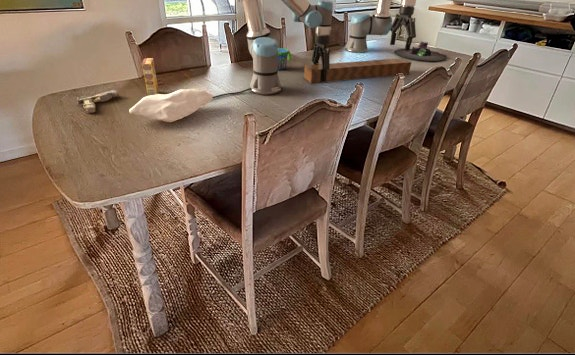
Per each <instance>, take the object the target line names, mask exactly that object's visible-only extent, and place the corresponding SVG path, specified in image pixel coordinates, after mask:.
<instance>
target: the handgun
mask: <svg viewBox="0 0 575 355" xmlns="http://www.w3.org/2000/svg"><path fill="white" fill-rule="evenodd" d="M119 96H120V94H119V92H118V91H117V90H116V89H112V90H108V91H105V92H104V91H103V92H101V93H96V94H94V95H86V94H85V95H84V94H83V95H81V96H80V97H77V98H76V101H77V104H78V105H82V108H83V109H84V110H85V113H87V114H91V113H95V112H96V104H95V103H98V102H106V101H109V100H111V99H113V98H117V97H119Z"/></svg>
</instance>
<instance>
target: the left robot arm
mask: <svg viewBox="0 0 575 355" xmlns="http://www.w3.org/2000/svg"><path fill="white" fill-rule="evenodd" d="M281 2H282V3H283V4H285V6H286V7H287V8H289V10H291V11H292V12H291V13H292V15H291V16H292V17H291V18H292V20H293V22H294V23H303V24H304V25H305V26H306V27H307V28H309V29H315V32H314V34H315V35H314V43H313V49H312V56H311V62H312V65H317V64H320V59H321V64H322V69H321V81H320V82H319V83H327V82H326V73H327V69H329V64H330V53H331V49H330V48H328V44H330V41H331V32H332V31H331V30H332V20H333V9H334V3H333V1H332V0H318V1H317V3H316V4H311V3H310V2H309V1H308V0H281ZM241 3H242V6H243V11H244V17H245V20H246V25H247V29H248V31H247V33H246V36H245V37H246V40H247V48H248V52H249V54H250V55H251V57H252V69H253V70H252V77H251V81H250V83H249V88H246V89H243V90H241V91H235V92H227V93H226V92H225V93H221V94H218V95H215V96H213V98H212V100H213V99H216V98H219V97H223V96H229V95H238V94H242V93H245V92H248V91H250V92H251V93H253V94H255V95H261V96H271V95H277V94H279V93H281V92H282V85H281V81H280V78H279V69H278V50H279V48H280V47H279V42H278V41H277V40H276V39H274V38H272V34H271V30H270V29H269V28H267V26H266V20H265V15H264V9H263V5H262V0H241Z"/></svg>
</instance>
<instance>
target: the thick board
mask: <svg viewBox="0 0 575 355" xmlns="http://www.w3.org/2000/svg"><path fill="white" fill-rule="evenodd" d="M411 66H412V61H409V60H408V59H405V58H404V57H398V58H387V59H386V58H385V59H371V60H358V61H347V62H345V61H344V62H333V63H332V62H331V63H329V69H327V73H326V82H325V83H329V82H337V81H338V82H340V81H350V80H361V79H371V78H382V77H393V76H397V75H396V74H398V73H403V74H404V75H405V76H406V75H410V70H411ZM321 69H322V63H317V65H314V64H306V65H304V73H303V78H304V80H306V81H307V82H308V83H309V84H316V83H318V84H319V83H321V82H320V81H321ZM404 75H403V76H404Z"/></svg>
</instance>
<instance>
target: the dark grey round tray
mask: <svg viewBox="0 0 575 355" xmlns="http://www.w3.org/2000/svg"><path fill="white" fill-rule="evenodd" d="M428 46H429V42H427V41H420V43H419V45H417V47H416V46H412V47H411V48H410V50H409V51H405V48H398V49H395V50H393V53H394V54H395V55H396V56H399V57H401V58H404V59H405V58H406V59H411V60H415V61H416V60H417V61H425V62H437V61H443V60H447V55H446V54H444V53H440V52H438V51H433V50H431V48H428Z"/></svg>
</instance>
